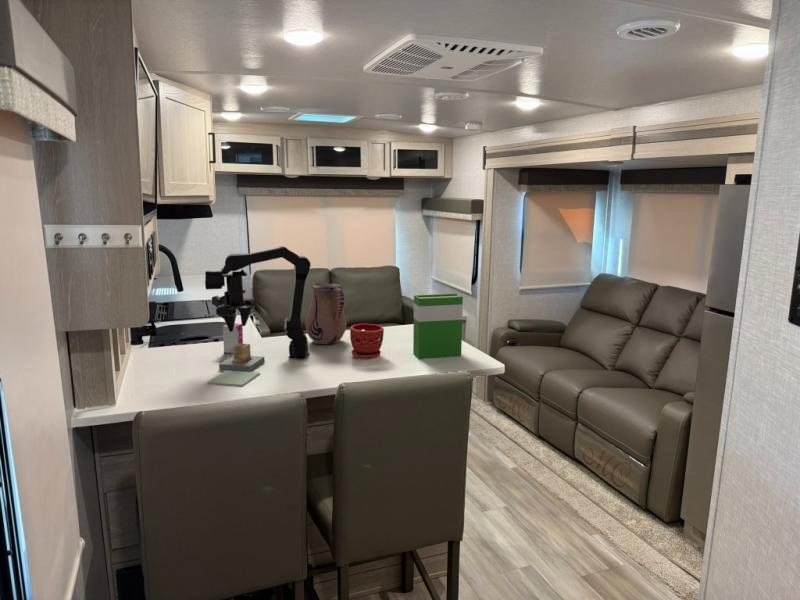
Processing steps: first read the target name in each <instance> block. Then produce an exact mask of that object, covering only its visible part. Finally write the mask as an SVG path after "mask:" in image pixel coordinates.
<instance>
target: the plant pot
mask: <svg viewBox="0 0 800 600" xmlns="http://www.w3.org/2000/svg"><path fill="white" fill-rule="evenodd" d="M384 331H385V330H384V327H383V326H382V325H378V324H374V323H357V324H353V325H351V326H350V331H349V334H350V336H349V337H350V344H351V347H352V348H353V349H352V350H351V356H352V357H355V358H357V359H361V360H371V359H375V358H377V357H379V356H380V355H381V353H382V351H381V348H382V346H383V345H382V344H383V341H384V333H385V332H384Z"/></svg>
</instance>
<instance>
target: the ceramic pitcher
mask: <svg viewBox="0 0 800 600" xmlns="http://www.w3.org/2000/svg"><path fill="white" fill-rule="evenodd" d="M341 287H342V285H341V284H338V283H326V284H325V283H324V284H322V283H316V284H315V285H312V286H311V288H312V289H313V296H312V299H311V302H310V303H309V308H308V311H307V314H306V319H305V331H306V334H307V336H308V337H309V339H311V341H313V342H314V343H316V344H318V345H320V344H321V345H332V344H335V343H338V342H339V341H340V340H341V339H342V338H343V336H345V332H346V330H347V318H346V313H345V310H344V306H345V305H344V304H345V296H344V295H345V294H344V292H343V290H342V289H341Z"/></svg>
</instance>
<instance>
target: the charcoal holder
mask: <svg viewBox="0 0 800 600" xmlns="http://www.w3.org/2000/svg"><path fill="white" fill-rule="evenodd" d="M265 358H266V357H265V356H259V355H251V360H250V361H249V362H247V363H236V362H234V357H233V356H231V357H229V358H226V359H225V360H224V361H223V362H220V363H219V364H218V366H219V369H218V370H219V371H226V370H230V371H244V372H253V371H254V370H255V369H257V368H258V367H261V365H263V364H264V363H265V362H266V361H265Z"/></svg>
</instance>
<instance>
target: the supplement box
mask: <svg viewBox="0 0 800 600" xmlns="http://www.w3.org/2000/svg"><path fill="white" fill-rule="evenodd" d="M243 332H244V331H243V326H242V323H235V324H234V329H233V332H230V331H229V329H228V327H227V324H225V325H222V333H223V337H222V339H223V354H225V355H233V346H235V345H237V344H239V343H241V344H244V336H243V335H244V334H243Z"/></svg>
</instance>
